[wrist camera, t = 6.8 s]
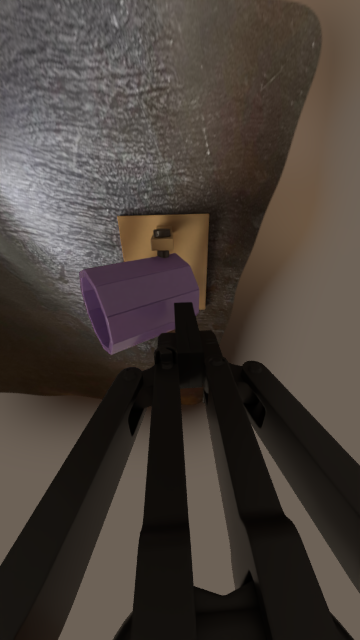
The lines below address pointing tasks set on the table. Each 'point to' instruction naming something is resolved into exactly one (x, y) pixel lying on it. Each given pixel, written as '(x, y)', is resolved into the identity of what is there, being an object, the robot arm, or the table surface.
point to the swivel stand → (168, 241)
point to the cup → (137, 298)
